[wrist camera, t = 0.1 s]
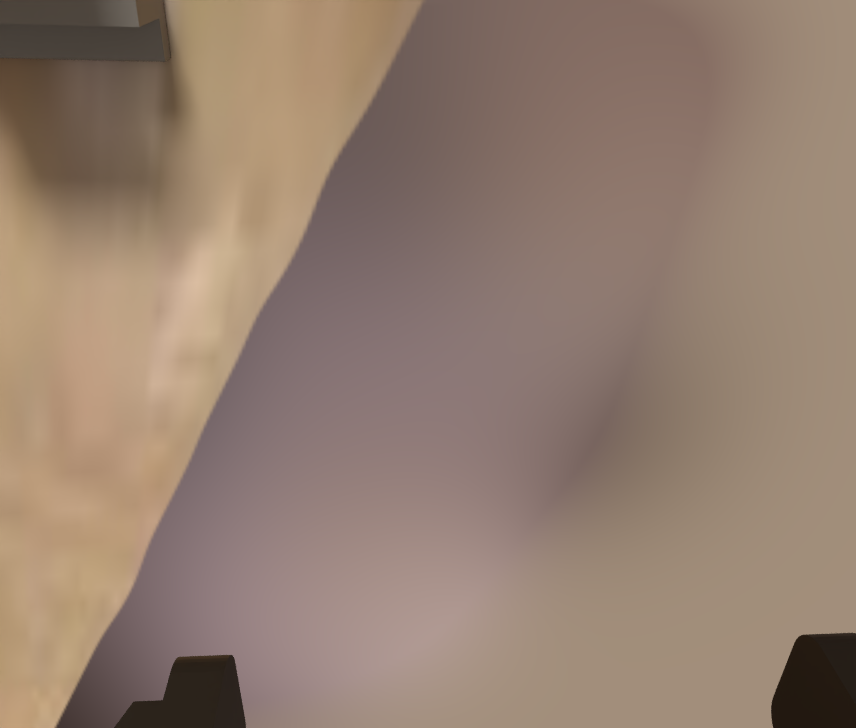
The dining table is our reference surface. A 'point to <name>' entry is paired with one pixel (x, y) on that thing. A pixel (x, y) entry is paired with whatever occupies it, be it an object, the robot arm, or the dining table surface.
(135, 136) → the dining table surface
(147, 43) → the bay
